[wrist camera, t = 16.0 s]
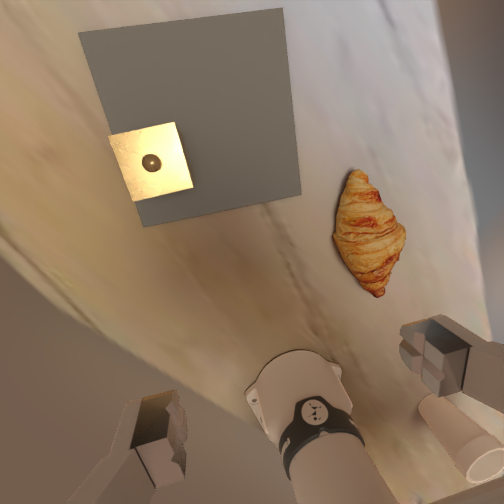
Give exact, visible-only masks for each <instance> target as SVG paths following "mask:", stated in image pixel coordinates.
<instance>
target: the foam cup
mask: <svg viewBox="0 0 504 504" xmlns="http://www.w3.org/2000/svg"><path fill="white" fill-rule="evenodd" d="M418 410H419V412H420V414H421V415H422V417H423V418H424V420H425V421H426V423H427V424H428V426H429V427H430V428H431V430H432V431H433V433H434V434H435V436H436V437H437V439H438V440H439V441H440V443H441V444H442V446H443V447H444V449H445V450H446V452H447V453H448V454H449V456H450V457H451V459H452V460H453V462H454V463H455V466H456V467H457V469H458V470H459V471H460V472H461V473H462V475H463V476H464V477H465V478H466V479H467V480H468V481H469V482H471V483H481V482H483V481H486V480H489V479H491V478H492V477H494V476H496V475H497V474H499V473H500V472H501V471H502V470H503V469H504V445H503V444H502V443H501V442H500V441H499V440H498V439H497V438H496V437H495V436H494V435H491V434H490V433H488V432H487V431H486V430H485V429H483V428H482V427H481V426H479V425H478V424H477V423H476V422H474V421H473V420H472V419H471V418H469V417H468V416H467V415H466V414H464V413H463V412H462V411H461V410H459V409H458V408H457V407H456V406H454V405H453V404H452V403H451V402H449V401H448V400H447V399H445V398H444V397H443V396H442V397H439V398H438V397H437V396H436V395H435V394H434V393H433V394H430V395H428V396H426V397H425V398H423V400H422V401H421V402H420V404H419V406H418Z"/></svg>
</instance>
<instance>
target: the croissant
mask: <svg viewBox="0 0 504 504" xmlns="http://www.w3.org/2000/svg"><path fill="white" fill-rule="evenodd" d="M333 238H334V241H335V243H336V244H337V247H338V249H339V251H340V254H341V256H342V258H343V260H344V262H345V263H346V264H347V266H348V267H349V269H350V270H351V272H352V273H353V275H354V276H355V277H356V278H357V279H358V280H359V282H360V284H361V286H362V287H363V288H364V289H365V290H367V291H368V292H370V293H371V294H372V295H373V296H374V297H376V298H379V297H381V296H383V295H384V294H385V288H384V287H385V285H387V283H388V282H389V278H390V274H391V270H392V268H393V266H394V264H395V263H396V261H398V260H399V256H400V252H401V251H402V249H403V247H404V242H405V240H406V230H405V227H404V226H403V225H401V224H400V223H398V222H396V218H395V216H394V215H393V212H392V210H391V209H388V208H387V207H386V206H385V205H384V204H383V202H382V201H381V198H380V194H379V191H378V190H377V189H376V188H374V187H373V186H372V184H369V183H368V175H367V174H365V173H364V172H363V171H361V170H360V169H358V170H355V171H353V172H352V173H351V174H350V176H349V177H348V181H347V183H346V187H345V189H344V192H343V194H342V196H341V199H340V204H339V208H338V212H337V216H336V232H335V233H334V234H333Z"/></svg>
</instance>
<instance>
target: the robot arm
mask: <svg viewBox="0 0 504 504" xmlns="http://www.w3.org/2000/svg"><path fill="white" fill-rule="evenodd" d="M400 335H401V336H402V337H403V340H402V341H401V343H400V344H399V352H400V355H401V358H402V360H403V361H404V363H405V364H406V366H407V367H408V368H409V369H410V370H411V371H413V372H415V373H417V374H420V375H421V379H422V382H423V383H424V384H425V385H426V386H427V387H428V388H429V389H430V390H431V391H432V392H433V393H434V394H435V395H436V396H437V397H438V398H439V397H442V396H446V395H450V394H453V393H457V392H460V391H462V393H464V394H466V395H468V396H470V397H472V398H474V399H476V400H478V401H480V402H482V403H484V404H486V405H488V406H490V407H492V408H494V409H496V410H498V411H500V412H501V413H503V414H504V344H500V343H497V342H493V341H491V342H487V341H485V340H483V339H482V338H480V337H479V336H477V335H476V334H474V333H472V332H471V331H469V330H468V329H466V328H464V327H463V326H461V325H460V324H458V323H456V322H455V321H453V320H452V319H450V318H449V317H447V316H445V315H441V314H440V315H437V316H433V317H430V318H427V319H423V320H420V321H416V322H413V323H409V324H406V325H403V326H402V327H401V329H400ZM341 374H342V370H341V368H340V366H339V365H338V364H336V363H332V362H328V361H326V360H325V359H324V358H323V357H322V356H320V355H319V354H317V353H314V352H311V351H305V350H299V351H292V352H288V353H285V354H283V355H281V356H279V357H277V358H275V359H274V360H272V361H271V362H270V363H269V364H268V365H266V367H265V368H264V369H263V370H262V372H261V373H260V375H259V377H258V379H257V381H256V382H255V383H254V384H253V385H252V386H251V387H249V388H248V389H247V391H246V392H245V396H246V399H247V401H248V403H249V405H250V407H251V408H252V410H253V412H254V414H255V416H256V417H257V419H258V421H259V423H260V424H261V426H262V428H263V430H264V432H265V433H266V435H267V437H268V439H269V440H270V441H271V442H273V443H274V444H275V446H276V447H277V449H278V450H279V451H280V454H281V460H282V464H283V467H284V469H285V471H286V474H287V477H288V478H289V480H290V481H291V482H292V485H293V489H294V493H295V496H296V500H297V503H298V504H399V503H398V501H397V500H396V498H395V497H394V495H393V494H392V492H391V490H390V489H389V487H388V486H387V484H386V482H385V481H384V479H383V478H382V476H381V474H380V473H379V471H378V469H377V468H376V466H375V464H374V463H373V461H372V459H371V458H370V456H369V454H368V452H367V451H366V449H365V443H364V440H363V438H362V436H361V433H360V431H359V429H358V427H357V425H356V424H355V423H354V422H353V420H352V418H351V413H352V407H353V405H352V402H351V400H350V398H349V396H348V394H347V393H346V391H345V389H344V387H343V385H342V383H341V382H340V379H341ZM179 398H180V397H179V395H178V392H177V390H171V391H167V392H163V393H159V394H155V395H151V396H147V397H144V398H141V399H137V400H133V401H129V402H127V404H126V405H125V407H124V410H123V413H122V416H121V419H120V422H119V426H118V429H117V432H116V435H115V438H114V441H113V444H112V448H111V450H110V454H109V456H107V457H104V458H103V459H102V460H101V461H100V462H99V464H98V465H97V466H96V467H95V468H94V470H93V471H92V472H91V473H90V475H89V476H88V477H87V478H86V479H85V481H84V482H83V483H82V484H81V485H80V487H79V488H78V489H77V490H76V492H75V493H74V494H73V495H72V496H71V498H70V499H69V500H68V501H67V502H66V504H150V502H151V500H152V498H153V496H154V494H155V492H156V490H155V489H157V488H159V487H162V486H165V485H168V484H171V483H174V482H176V481H179V480H182V479H185V469H186V452H185V449H184V447H183V445H184V443H185V442H186V440H187V431H188V429H187V418H186V414H185V410H184V408H183V406H181V405H179ZM429 504H504V476H503V477H500V478H497V479H494V480H492V481H489V482H486V483H484V484H481V485H478V486H475V487H473V488H470V489H467V490H465V491H462V492H459V493H456V494H454V495H451V496H448V497H446V498H443V499H440V500H437V501H435V502H432V503H429Z"/></svg>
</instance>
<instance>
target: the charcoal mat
mask: <svg viewBox="0 0 504 504" xmlns="http://www.w3.org/2000/svg"><path fill="white" fill-rule="evenodd" d="M78 35H79V38H80V41H81V44H82V47H83V50H84V53H85V56H86V59H87V62H88V65H89V68H90V71H91V74H92V77H93V79H94V82H95V85H96V88H97V91H98V94H99V97H100V100H101V103H102V106H103V109H104V112H105V115H106V118H107V121H108V124H109V127H110V130H111V133H112V135H115V134H120V133H125V132H129V131H134V130H139V129H144V128H148V127H153V126H158V125H163V124H167V123H172V122H175V124H176V125H177V127H178V128H179V129H180V131H181V133H182V137H183V140H184V144H185V147H186V151H187V154H188V158H189V161H190V165H191V168H192V172H193V175H194V179H195V184H194V187H193V188H189V189H185V190H180V191H176V192H172V193H168V194H164V195H159V196H155V197H151V198H147V199H142V200H138V201H135V204H136V207H137V210H138V213H139V216H140V219H141V222H142V225H143V228H144V227H149V226H154V225H158V224H163V223H168V222H173V221H178V220H182V219H187V218H192V217H197V216H202V215H206V214H211V213H216V212H221V211H226V210H230V209H235V208H240V207H245V206H250V205H254V204H259V203H264V202H269V201H274V200H279V199H283V198H288V197H293V196H298V195H301V185H300V175H299V165H298V155H297V145H296V135H295V125H294V116H293V106H292V96H291V86H290V76H289V66H288V56H287V46H286V36H285V26H284V16H283V8H276V9H267V10H259V11H251V12H243V13H235V14H226V15H218V16H210V17H202V18H194V19H185V20H177V21H169V22H161V23H153V24H145V25H136V26H128V27H120V28H112V29H104V30H95V31H87V32H79V33H78Z"/></svg>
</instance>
